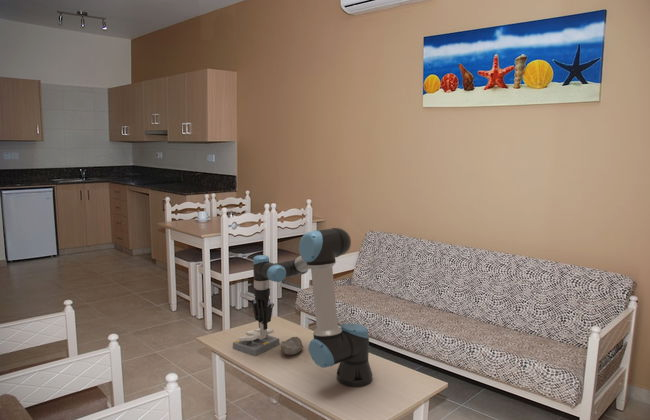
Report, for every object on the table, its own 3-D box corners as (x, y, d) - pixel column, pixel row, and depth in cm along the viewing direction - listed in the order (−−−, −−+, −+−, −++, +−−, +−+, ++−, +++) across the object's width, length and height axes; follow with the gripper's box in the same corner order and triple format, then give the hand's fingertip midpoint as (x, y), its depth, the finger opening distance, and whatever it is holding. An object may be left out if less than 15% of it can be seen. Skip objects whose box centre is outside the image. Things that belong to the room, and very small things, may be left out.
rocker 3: (273, 332, 244) (273, 329, 244) (268, 334, 242) (268, 331, 241) (259, 331, 250) (258, 328, 250) (254, 333, 248) (253, 330, 247)
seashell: (294, 334, 245) (279, 326, 233) (311, 345, 238) (297, 337, 227) (284, 351, 243) (268, 343, 231) (301, 363, 236) (286, 355, 224)
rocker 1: (258, 338, 236) (257, 335, 236) (252, 341, 233) (252, 337, 233) (244, 339, 242) (243, 336, 242) (238, 341, 239) (237, 338, 239)
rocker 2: (266, 337, 240) (266, 334, 240) (261, 340, 237) (261, 336, 237) (251, 333, 246) (251, 329, 246) (246, 335, 243) (246, 332, 243)
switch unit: (279, 344, 245) (279, 334, 244) (255, 356, 231) (255, 346, 230) (257, 337, 253) (257, 328, 253) (232, 348, 240) (232, 339, 239)
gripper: (277, 288, 234) (279, 335, 238) (257, 283, 242) (258, 329, 246) (267, 292, 228) (268, 340, 232) (246, 287, 236) (247, 334, 240)
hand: (263, 335), depth 239 cm, fingers closed, pressing on rocker 2
